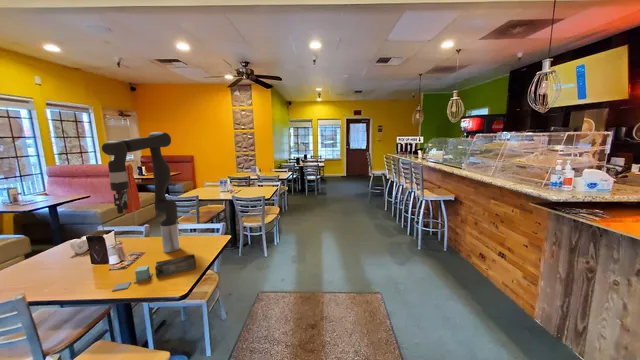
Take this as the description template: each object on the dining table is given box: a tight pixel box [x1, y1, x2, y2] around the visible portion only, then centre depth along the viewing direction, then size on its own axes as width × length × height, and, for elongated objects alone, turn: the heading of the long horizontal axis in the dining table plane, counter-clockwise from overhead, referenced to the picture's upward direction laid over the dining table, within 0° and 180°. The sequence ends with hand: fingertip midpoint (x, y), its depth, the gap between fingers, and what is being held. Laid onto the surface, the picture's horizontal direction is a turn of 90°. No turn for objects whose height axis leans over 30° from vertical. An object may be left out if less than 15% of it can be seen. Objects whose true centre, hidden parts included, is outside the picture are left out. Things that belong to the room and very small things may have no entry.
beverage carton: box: [154, 254, 197, 278], centre depth 147 cm, size 8×19×7 cm, turn 118°
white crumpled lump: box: [69, 235, 89, 255], centre depth 174 cm, size 11×12×9 cm
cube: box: [134, 265, 151, 281], centre depth 139 cm, size 5×5×5 cm
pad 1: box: [111, 281, 131, 292], centre depth 131 cm, size 6×6×1 cm
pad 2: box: [133, 272, 153, 284], centre depth 139 cm, size 7×7×1 cm
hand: (123, 211), depth 140 cm, fingers open, 8 cm apart
